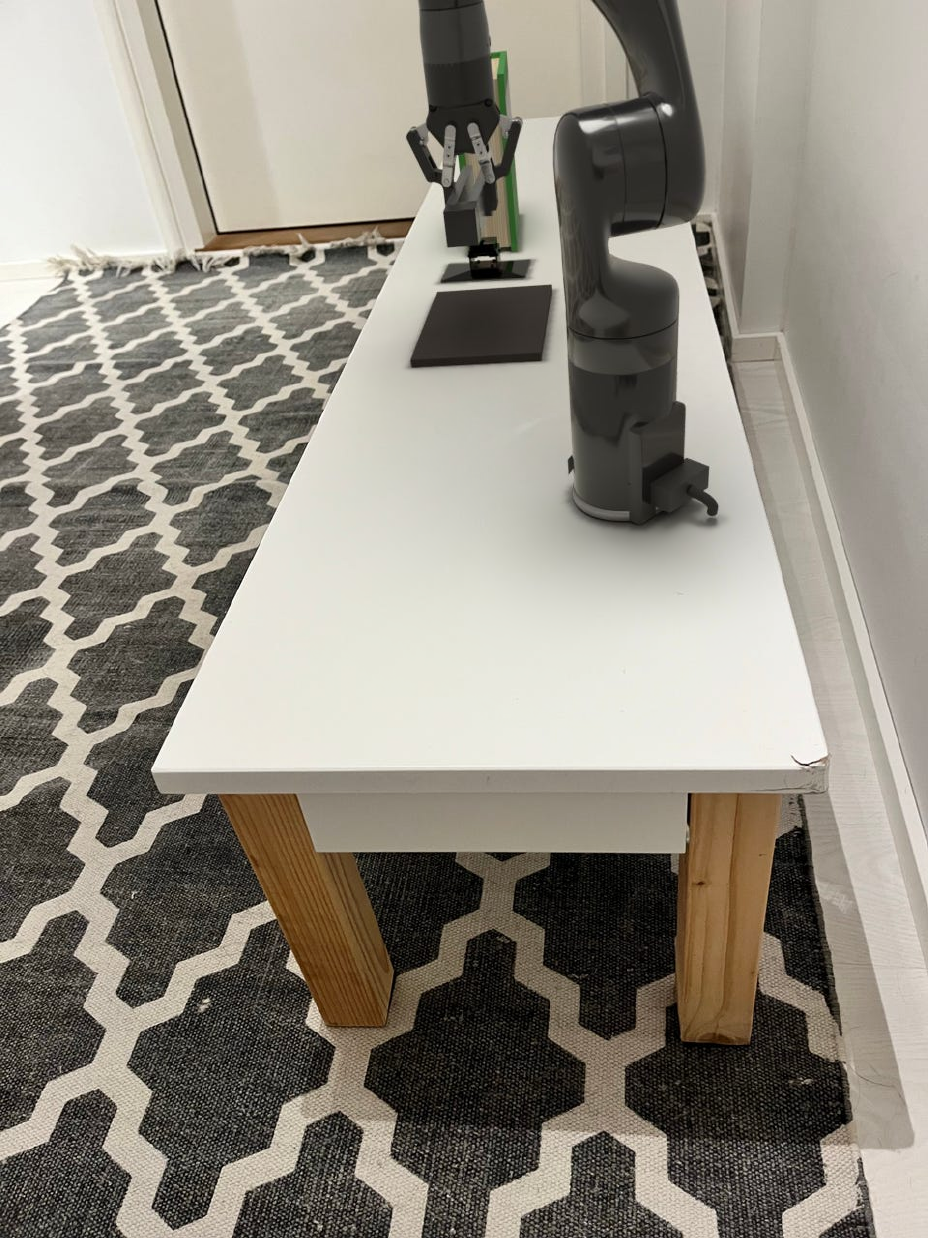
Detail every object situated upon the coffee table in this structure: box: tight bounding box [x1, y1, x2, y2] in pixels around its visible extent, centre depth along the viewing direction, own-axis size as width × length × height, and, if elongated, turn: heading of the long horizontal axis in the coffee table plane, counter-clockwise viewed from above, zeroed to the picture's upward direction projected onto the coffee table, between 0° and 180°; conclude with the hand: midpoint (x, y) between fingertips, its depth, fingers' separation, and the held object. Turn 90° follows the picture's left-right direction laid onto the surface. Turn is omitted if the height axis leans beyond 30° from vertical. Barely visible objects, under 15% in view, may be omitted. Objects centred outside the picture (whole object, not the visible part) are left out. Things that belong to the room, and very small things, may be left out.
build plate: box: [440, 236, 532, 284], centre depth 139 cm, size 12×7×5 cm, turn 80°
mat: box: [409, 283, 553, 368], centre depth 125 cm, size 22×16×1 cm
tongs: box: [442, 165, 488, 248], centre depth 114 cm, size 18×4×4 cm, turn 173°
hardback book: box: [457, 50, 520, 253], centre depth 146 cm, size 18×7×24 cm, turn 177°
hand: (473, 214), depth 116 cm, fingers closed on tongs, 3 cm apart
